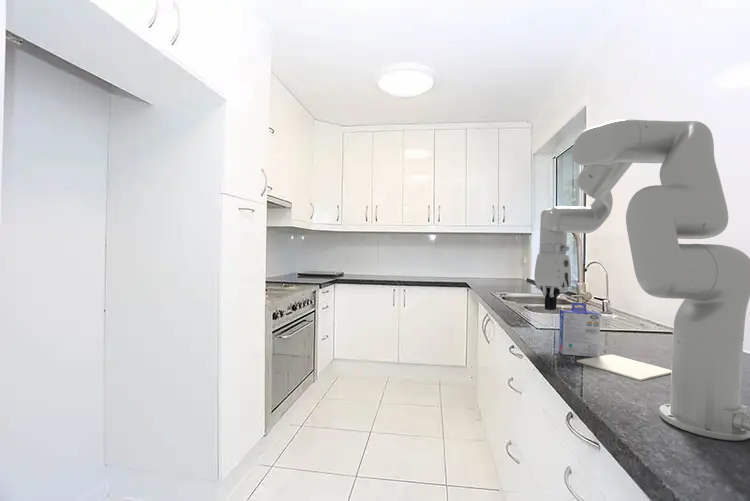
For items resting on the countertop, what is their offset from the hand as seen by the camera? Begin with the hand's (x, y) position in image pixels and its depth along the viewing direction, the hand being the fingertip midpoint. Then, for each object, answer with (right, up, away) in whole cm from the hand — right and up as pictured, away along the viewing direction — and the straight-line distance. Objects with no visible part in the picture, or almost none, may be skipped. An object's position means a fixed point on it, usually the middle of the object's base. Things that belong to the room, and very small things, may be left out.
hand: (550, 309), depth 124 cm
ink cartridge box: (+4, -12, -8) cm, 15 cm away
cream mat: (+10, -12, -20) cm, 25 cm away
